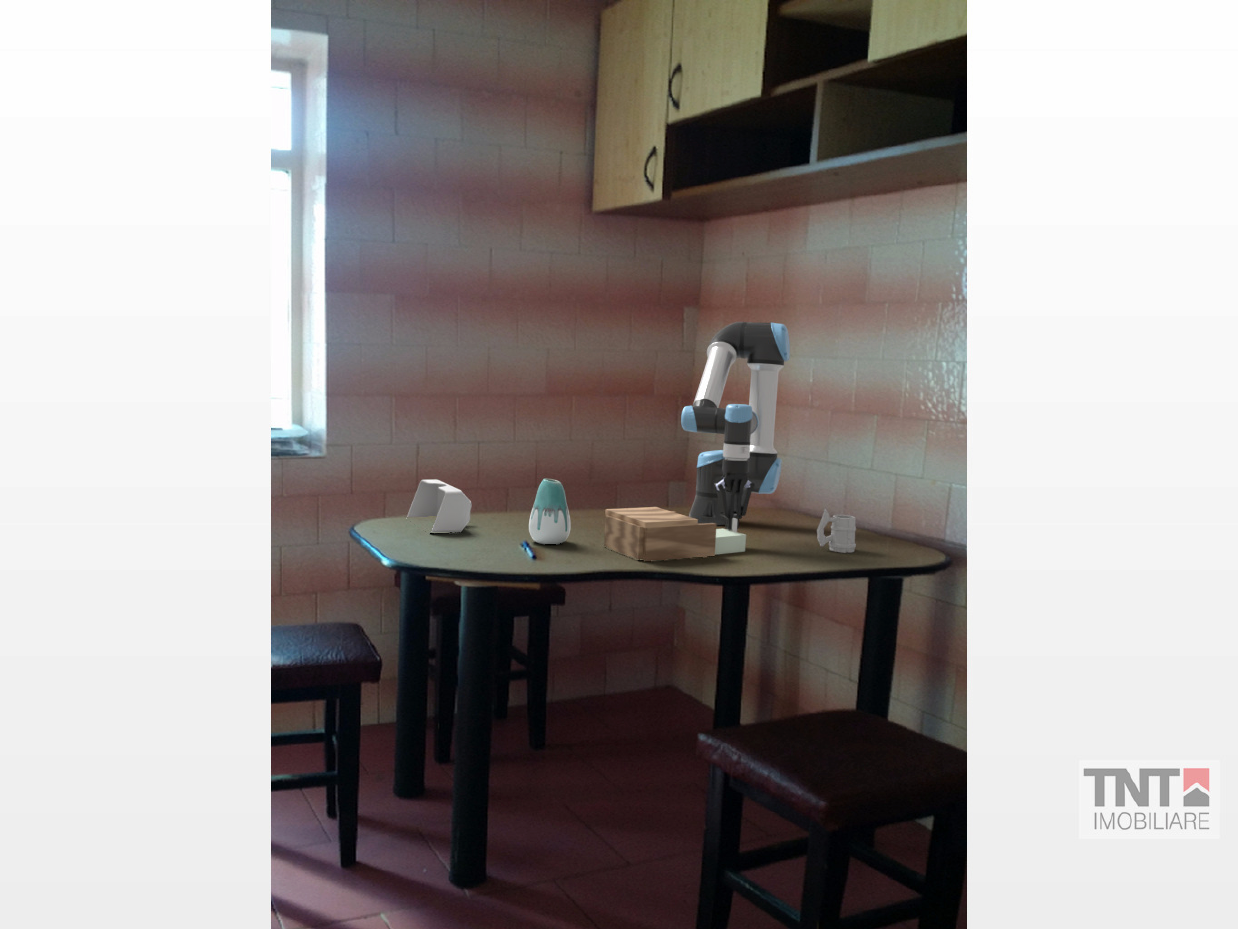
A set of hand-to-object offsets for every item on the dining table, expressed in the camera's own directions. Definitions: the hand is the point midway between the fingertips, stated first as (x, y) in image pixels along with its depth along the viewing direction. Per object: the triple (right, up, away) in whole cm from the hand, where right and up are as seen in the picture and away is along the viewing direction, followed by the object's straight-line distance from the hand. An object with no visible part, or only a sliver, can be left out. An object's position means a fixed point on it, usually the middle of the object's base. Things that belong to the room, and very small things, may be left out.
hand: (731, 540), depth 302 cm
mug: (+30, -3, +2) cm, 30 cm away
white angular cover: (-84, +3, +11) cm, 85 cm away
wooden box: (-22, -2, -12) cm, 25 cm away
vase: (-52, 0, -7) cm, 52 cm away
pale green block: (-8, -3, -8) cm, 11 cm away
